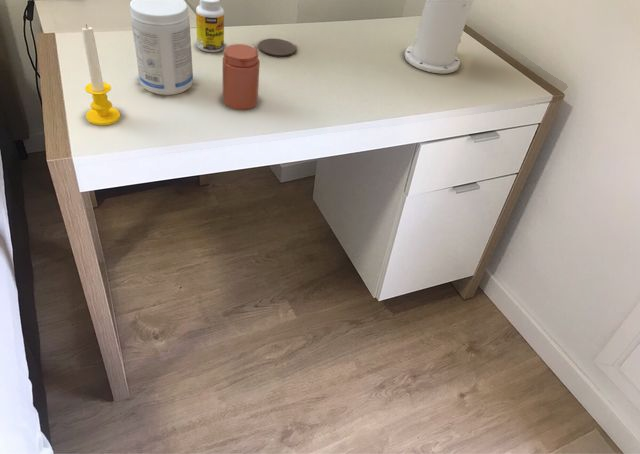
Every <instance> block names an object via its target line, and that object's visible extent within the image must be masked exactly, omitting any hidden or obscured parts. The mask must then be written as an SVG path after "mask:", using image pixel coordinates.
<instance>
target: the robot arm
mask: <svg viewBox="0 0 640 454" xmlns="http://www.w3.org/2000/svg"><path fill="white" fill-rule="evenodd" d="M473 2H474V0H425V2H424V6H423V10H422V13H421V17H420V20H419V25H418V29H417V32H416V37H415V40H414V43H413V45H409V46H408V47H407V48H406V49H405V51H404V58H405V60H406V62H407V63H409V64H410V65H411V66H413V67H415V68H417V69H419V70H422V71H424V72H428V73H433V74H441V75H442V74H451V73H454V72H456V71H457V70H458V69H459V67H460V64H461V61H460V59H459V57H458V56H457V52H458V47H459V46H460V44H461V43H462V35H463V32H464V29H465V26H466V23H467V20H468V17H469V13H470V11H471V9H472V4H473Z"/></svg>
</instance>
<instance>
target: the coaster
mask: <svg viewBox="0 0 640 454" xmlns="http://www.w3.org/2000/svg"><path fill="white" fill-rule="evenodd" d="M258 51H260V52H261V53H262V54H264V55H267V56H269V57H274V58H287V57H291V56H292V55H294V54H295V52H296V46H295V44H293V43H292V42H290V41H288V40H285V39H280V38H266V39H262V40H261V41H259V43H258Z"/></svg>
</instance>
